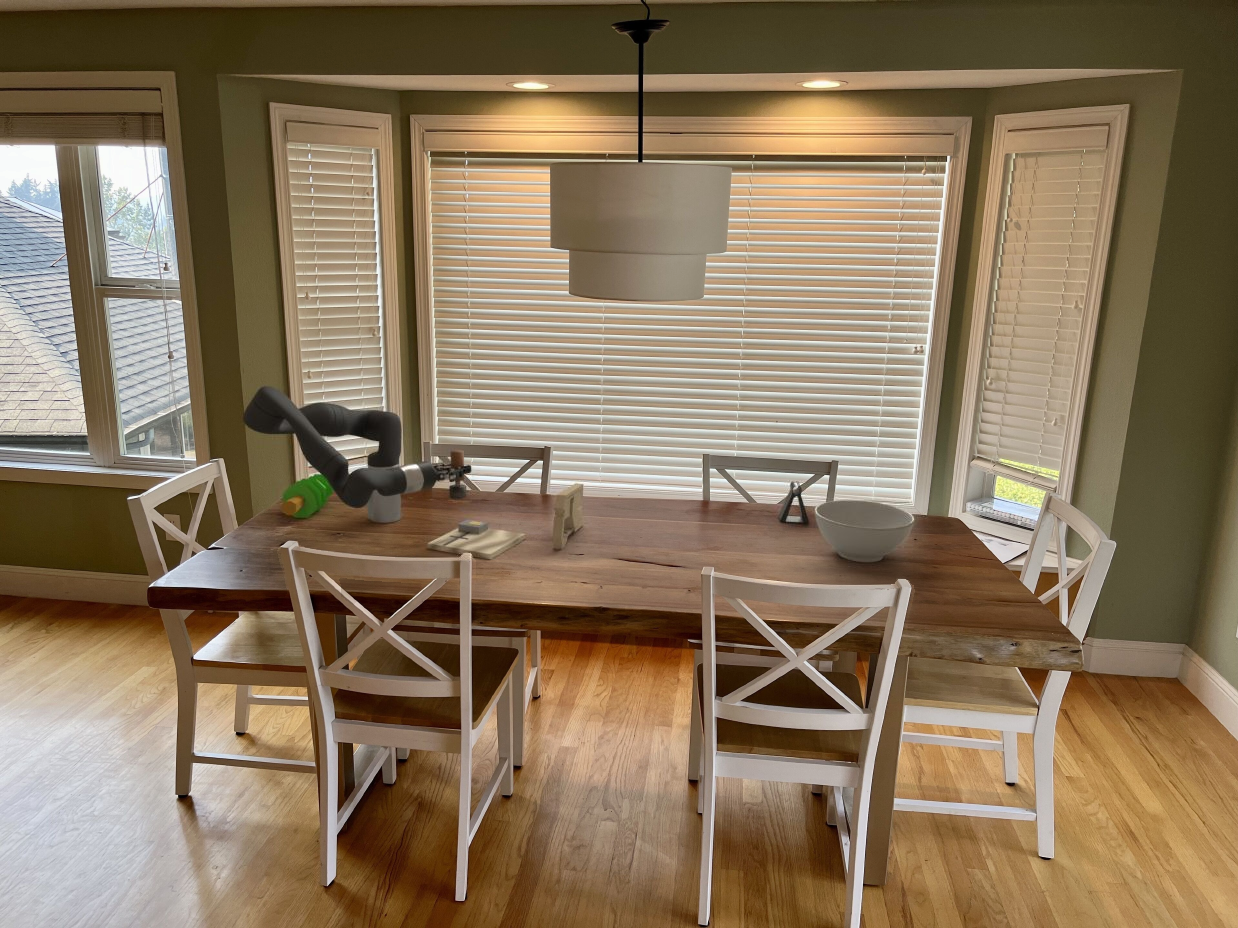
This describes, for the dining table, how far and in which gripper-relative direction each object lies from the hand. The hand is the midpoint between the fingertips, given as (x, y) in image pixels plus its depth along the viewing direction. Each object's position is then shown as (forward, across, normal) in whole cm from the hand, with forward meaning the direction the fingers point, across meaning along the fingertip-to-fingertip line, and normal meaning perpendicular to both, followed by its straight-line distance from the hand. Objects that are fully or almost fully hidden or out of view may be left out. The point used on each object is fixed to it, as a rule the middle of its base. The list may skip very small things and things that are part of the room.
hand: (465, 467), depth 250 cm
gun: (+24, +17, -22) cm, 36 cm away
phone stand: (+86, +54, -21) cm, 104 cm away
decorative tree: (-16, -56, -22) cm, 62 cm away
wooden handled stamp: (-3, 0, -8) cm, 8 cm away
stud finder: (+4, -3, -20) cm, 21 cm away
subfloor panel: (0, +4, -22) cm, 22 cm away
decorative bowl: (+72, +84, -22) cm, 113 cm away
